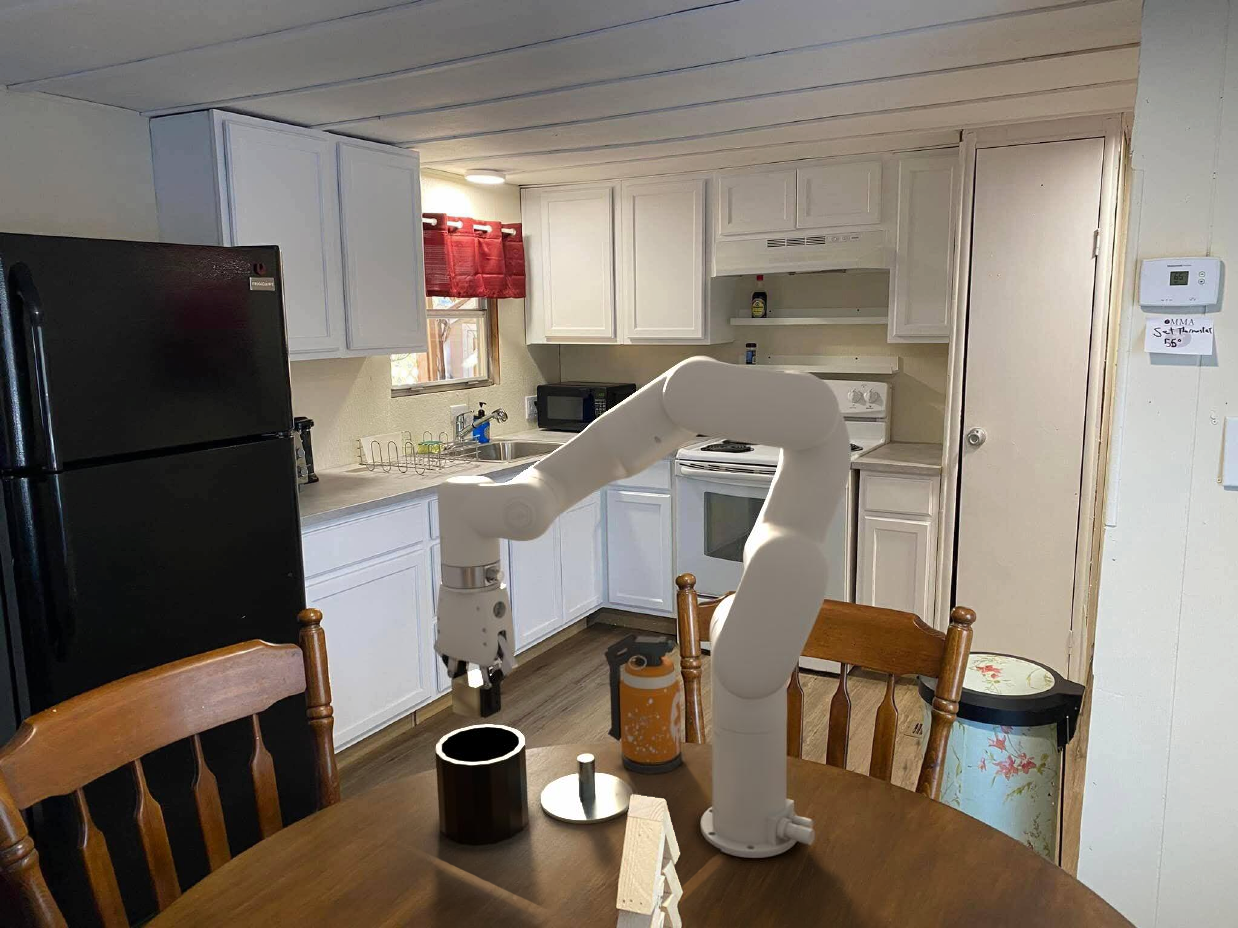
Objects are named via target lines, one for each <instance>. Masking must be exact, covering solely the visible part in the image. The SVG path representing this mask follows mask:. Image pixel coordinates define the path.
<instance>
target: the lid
mask: <svg viewBox="0 0 1238 928" xmlns="http://www.w3.org/2000/svg"><path fill="white" fill-rule="evenodd" d="M595 758H596V757H595V755H593V754H591V753H583V754H579V755H578V756H577V757H576V762H577V773H575V774H570V775H567V776H563V777H559V778H558V779H556V780H554V781H552V782H550V783H549V784H548V785H547V786H546V787H545V788H544V790H543V791H542V792H541V795H540V804H541V808H542V809H543V811H544V812H545V813H546V814H547V815H548V816H550V817H551V818H552V819H555V820H558V821H561V822H565V823H568V824H574V825H591V824H598V823H604V822H608V821H610V820H614V819H617V818H618V817H620V816H622V815H623V814H625V813H626V812H627V811H628V810H629V809H628V807H629V798H630V795H632V794H633V795H634V791H633V788H632V787H631V785H630V784H629V783H628V782H627V781H625V780H624V779H621V778H619V777H618V776H615V775H611V774H607V773H599V772H596V759H595Z"/></svg>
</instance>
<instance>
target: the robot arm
mask: <svg viewBox="0 0 1238 928" xmlns="http://www.w3.org/2000/svg"><path fill="white" fill-rule="evenodd" d="M848 430H849V429H848V426H847V424H846V421H845V417H844V415H843V413H842V411H841V409H840V404H839V401H838V397H837V395H836V393H835V392H834V389H833V388H832V387H831V386H830V385H829V384H828V383H827V382H826V381H825V380H823V379H822V378H819V377H817V376H816V375H814V374H812V373H810V372H807V371H805V370H799V369H790V370H785V371H778V370H772V369H771V370H770V369H765V368H757V367H751V366H744V365H739V364H733V363H729V362H723V361H719V360H718V359H716V358H713V357H710V356H707V355H695V356H691V357H689V358H686V359H684V360H682V361H681V362H678V363H677V364H676V365H675V366H673V367H671V368H670V369H668V370H667V371H665V372H664V373H662V374H661V375H659V376H658V377H656V378H655V379H653V380H652V381H651V382H650V383H648V384H646V385H644V386H643V387H642V388H640V389H639V390H638V391H636V392H634V393H632V395H630V396H629V397H627V398H626V399H624V400H623V401H621V402H620V403H618V404H617V405H615V406H614V407H612V408H611V409H608V411H606V412H604V413H603V414H601V415H600V416H599V417H597V418H596V419H595V420H593V421H592V422H591V423H590V424H589V425H588V426H587V427H586V428H585V429H584V430H583V431H581V432H580V433H579V434H578V435H576V436H574V437H573V438H572V439H570V440H569V441H568V442H566V443H565V444H563V445H561V446H560V447H559V448H557V449H556V450H554V451H553V452H551V453H550V454H548V455H547V456H546V457H544V458H542V459H541V460H540V461H537V462H536V463H534V465H531V466H530V467H528V469H526V470H523V472H521V473H520V474H519V475H517V476H516V477H514V478H513V479H512V480H510V481H507V482H505V483H495V481H494V480H492V478H489V477H485V476H477V475H475V476H474V475H473V476H458V477H457V476H456V477H452V478H447V479H446V480H444V481H442V482H441V483H440V484H439V486H438V488H437V510H438V511H437V512H438V513H437V514H438V531H439V532H438V533H439V550H440V551H439V553H440V554H439V555H440V574H441V575H440V578H441V581H440V583H439V589H438V597H437V606H436V607H437V609H436V635H437V637H436V640H435V642H434V643H433V650H434V651H435V652H436V654H437V655H438V656H439V657H440V659H441V661H442V663H443V665H444V666H445V667H446V669H447V670H446V674H447V677H448V678H449V679H451V680H450V682H451V683H450V684H451V687H452V680H453V679H455V678H458V677H460V676H462V675H464V674H467V673H469V672H470V671H469V667H470V664H474V665H477V666H478V668H479V671H480V673H481V678H482V683H483V686H484V687H482V688H480V708H481V717H482V718H484V719H487V718H489V717H491V716H493V715H495V714H496V713H499V712H501V710H502V694H501V693H502V692H501V691H502V689H501V684H503V683H504V682H505V679H506V678H507V677H508V676H509V675H510V674H511V673H513V672H515V671H516V670H518V668H519V663H518V661H517V659H516V657H515V653H516V645H515V642H516V641H515V630H514V629H515V628H514V620H513V619H514V618H513V614H512V606H511V600H510V597H509V593H508V592H509V591H508V589H507V585H506V584H504V583H502V581H503V580H504V578H505V573H504V571H503V570H502V568H501V542H500V539H503V540H509V541H515V542H530V541H533V540H536V539H539V538H540V537H542V536H543V535H544V534H545V533H546V532H547V531H548V530H549V529H550V527H551V526H552V525H553V523H554V522H555V521H556V519H557V518H558V517H560V516H561V515H562V514H563V513H565V512H566V511H568V510H569V509H571V508H572V507H573V506H575V505H577V504H578V503H579V502H582V501H583V500H584V499H586V498H587V497H589V496H590V495H592V494H594V493H595V492H597V491H598V490H600V489H602V488H604V487H605V486H608V485H610V484H612V483H613V482H616V481H619V480H625V479H629V478H633V477H634V476H636V475H639V474H640V473H642V472H644V471H645V470H646V469H649V467H651V466H652V465H654V464H656V463H657V462H659V461H660V460H661V459H663V458H664V457H666V456H667V455H669V454H670V453H672V452H674V451H676V450H677V449H678V448H680V447H682V446H683V445H684V444H686V443H687V442H689V441H691V440H692V439H694V438H695V437H696V436H698V435H700V436H706V437H711V438H715V439H721V440H727V441H733V442H739V443H746V444H751V445H752V444H753V445H759V446H766V447H771V448H777V449H779V451H780V452H779V459H778V464H777V468H776V472H775V474H774V476H773V479H772V482H771V485H770V488H769V491H768V494H767V496H766V498H765V501H764V503H763V505H762V507H761V510H760V512H759V515H758V517H757V519H756V521H755V524H754V526H753V528H752V530H751V532H750V535H749V536H748V538H747V540H746V542H745V545H744V547H743V548H744V549H743V555H742V558H743V560H742V561H743V569H744V570H743V574H742V576H741V578H740V581H739V584H738V585H737V589H736V592H735V593H733V594H731V595H729V596H727V597H725V598H724V599H722V600H721V602H720V603H719V604H718V606H717V607H716V608H715V610H714V612H713V614H712V617H711V620H710V624H709V650H710V651H709V652H710V698H711V699H710V702H711V703H710V704H711V705H710V707H711V709H710V710H711V711H710V712H711V713H710V714H711V715H710V717H711V718H710V719H711V720H710V721H711V723H710V725H711V727H710V729H711V806H710V807H709V808H708V809H707V810H705V811H704V812H703V814H702V815H701V818H700V832H701V835H702V836H703V837H704V839H705V840H706V841H707V842H708V843H709V844H711V845H713V846H714V847H716V848H717V849H720V850H719V851H720V852H721V853H724V854H727V855H730V856H734V857H738V858H744V859H745V858H748V859H764V858H768V857H769V858H770V857H774V856H777V855H780V854H782V853H785V852H787V851H788V850H790V849H791V848H792V847H794V845H795V844H796V843H797V842H799V843H801V844H804V845H807V846H812V845H813V843H814V840H815V836H816V832H815V830H814V829H813V827H814V820H813V819H811V818H809V817H805V816H800V815H797V813H796V811H795V800H793V799H791V798H788V797H787V791H788V790H787V787H788V786H787V781H788V779H787V778H788V777H787V774H788V773H787V771H788V769H787V768H788V767H787V766H788V765H787V762H788V761H787V760H788V758H787V757H788V754H787V751H788V750H787V749H788V748H787V744H788V743H787V742H788V741H787V740H788V739H787V738H788V732H787V731H788V730H787V729H788V725H787V723H788V686H787V685H788V684H787V683H788V680H789V679H790V678H791V676H792V674H793V672H794V671H795V668H796V666H797V665H798V662H799V660H800V657H801V655H802V653H803V651H804V648H805V646H806V644H807V642H808V640H809V637H810V635H811V633H812V630H813V628H814V625H815V623H816V621H817V618H818V616H819V613H820V611H821V609H822V606H823V604H824V601H825V599H826V596H827V592H828V586H829V581H830V567H829V562H828V559H827V556H826V553H825V550H824V549H825V544H826V542H827V539H828V536H829V533H830V531H831V529H832V527H833V524H834V522H835V519H836V515H837V513H838V510H839V508H840V505H841V502H842V499H843V497H844V494H845V491H846V489H847V485H848V481H849V478H850V471H851V465H852V447H851V439H850V435H849V431H848ZM490 668H492V673H491V669H490ZM490 674H491V675H490ZM451 705H452V707H453V703H452V702H451Z"/></svg>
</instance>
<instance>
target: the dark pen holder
mask: <svg viewBox="0 0 1238 928" xmlns="http://www.w3.org/2000/svg"><path fill="white" fill-rule="evenodd" d="M434 751H435V769H436V785H437V786H436V787H437V801H438V817H439V819H438V821H439V831H440V832H441V834H442V835H443V836H444V837H445V839H447V840H448V841H451V842H453V843H455V844H458V845H464V846H472V847H481V846H491V845H496V844H498V843H501V842H505V841H509V840H511V839H513V838H514V837H515V836H517V835H518V834H520V833H521V832H523V831H524V830H525V828H526V826H527V824H528V823H529V821H530V819H529V796H528V778H527V777H528V776H527V774H528V773H527V752H526V751H527V750H526V737H525V735H524V734H523V733H521V731H519V730H518V729H515V728H513V727H509V726H506V725H499V724H479V725H478V724H477V725H469V726H467V727H463V728H460V729H456V730H453V731H451V732H449V733H447V734H446V735H443V737H441V738H440V739H439V741H438V742H437V743H436V744H435V750H434Z"/></svg>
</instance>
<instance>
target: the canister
mask: <svg viewBox="0 0 1238 928" xmlns="http://www.w3.org/2000/svg"><path fill="white" fill-rule="evenodd" d="M668 639H669V638H668V637H667V636H638V635H637V634H634V633H633V632H632V633H630V634H628V635H627V636H625V637H623V638H621V639H619V640H618V641H616V642H614V643H613V644H611V645H609V646H608V647H607V648H606V650H607V651H605V652H603V655H604V658H605V659H606V662H607V665H608V667H609V673H608V676H609V677H608V681H609V682H608V685H609V690H610V691H609V692H610V693H609V694H610V720H611V721H610V723H611V724H610V725H611V726H610V728H609V730H608V733H607V734H608V736H610V737H612V738H613V739H614V740H616V741H617V742H620V744H621V746H620V748H621V763H622V764H623V766H625V768H627V769H629V770H630V771H633V772H637V773H642V774H663V773H666V772H670V771H672V770H674V769H676V768H677V767H678V766H680V765H681V762H682V726H681V725H682V722H681V721H682V720H681V718H682V717H681V682H680V680H679V679H678V678H677V667H676V665H675V663H674V661H673V660H672V659H670V658H669V657H667V656H666V655H667V654H670V653H673V651H674V649H675V646H676V642H675V641H673V640H668ZM624 650H625V651H624ZM622 651H623V652H622ZM621 666H623V667H622V676H621ZM621 677H622V679H621Z"/></svg>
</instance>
